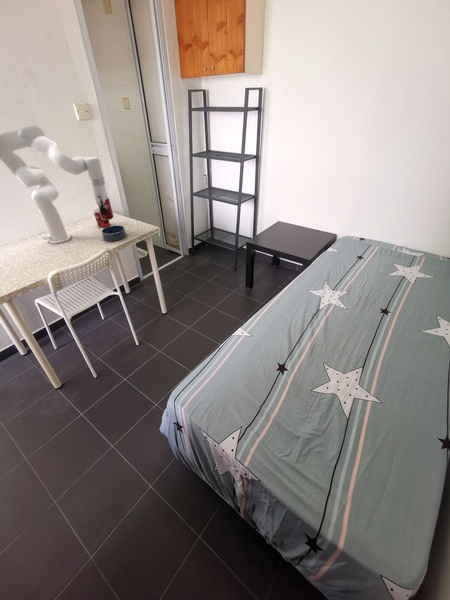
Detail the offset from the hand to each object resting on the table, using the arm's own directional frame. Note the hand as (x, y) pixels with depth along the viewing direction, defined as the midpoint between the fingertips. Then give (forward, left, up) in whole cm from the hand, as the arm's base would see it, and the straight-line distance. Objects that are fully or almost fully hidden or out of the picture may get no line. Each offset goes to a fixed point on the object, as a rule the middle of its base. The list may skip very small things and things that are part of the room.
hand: (105, 212), depth 171 cm
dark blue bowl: (+1, 0, -16) cm, 16 cm away
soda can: (0, 0, -4) cm, 4 cm away
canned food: (-3, +24, -17) cm, 29 cm away
